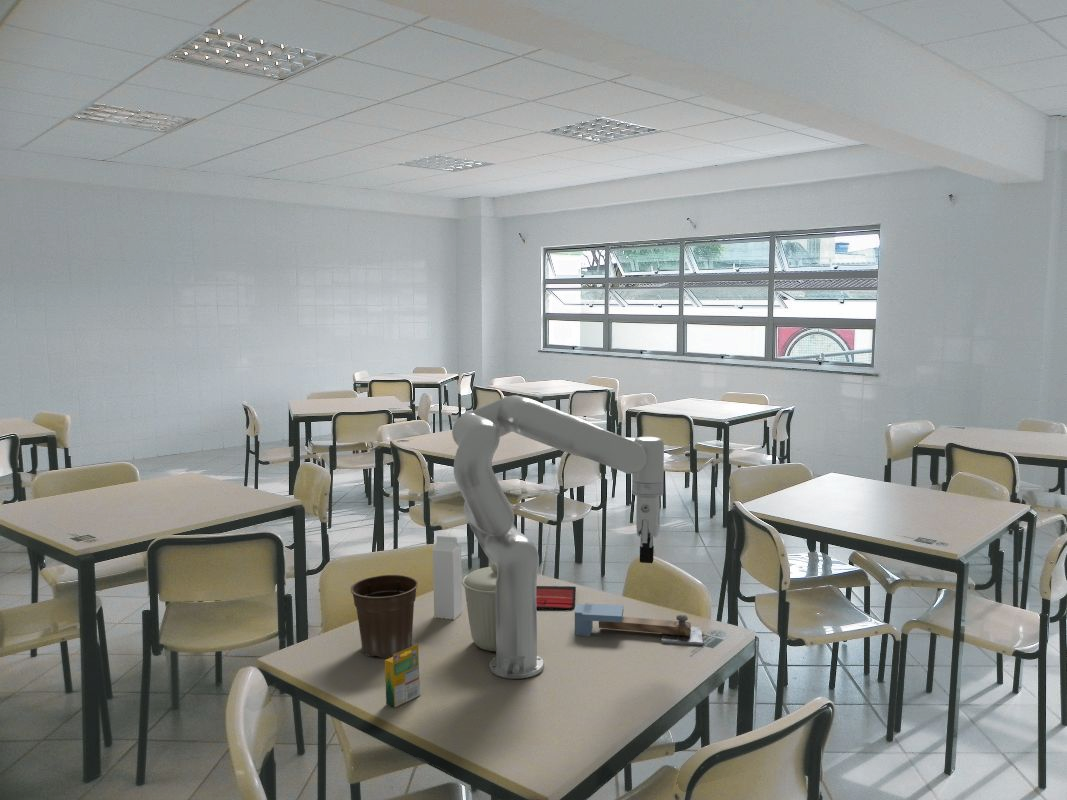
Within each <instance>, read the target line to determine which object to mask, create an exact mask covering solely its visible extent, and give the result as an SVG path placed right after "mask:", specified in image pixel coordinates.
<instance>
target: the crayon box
mask: <svg viewBox="0 0 1067 800" xmlns="http://www.w3.org/2000/svg"><path fill="white" fill-rule="evenodd" d="M419 662H420V658H419V643H416V644H414V645H412V647H409V648H407V649H405V650H403V651H400V652H398V653H396V654H393V657H388V658H387V659H385V660H384V675H385V676H384V678H385V679H384V680H385V700H386V705H387V704H388V705H387V706H389V705H390V707H391V706H392V708H394V709H396V708H397V707H399V706H401V705H403V704H405V703H407V702H410V701H411V700H414V699H415V698H417V697H420V695H421V684H420V682H421V681H420V663H419ZM395 707H396V708H395Z"/></svg>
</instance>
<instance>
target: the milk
mask: <svg viewBox="0 0 1067 800" xmlns="http://www.w3.org/2000/svg"><path fill="white" fill-rule="evenodd" d="M432 572H433V573H432V574H433V575H432V577H433V578H432V579H433V582H432V583H433V614H434V616H433V617H437V618H436V619H443V618H445V619H444V620H452V619H453V620H456V619H457V618H458V617H459V616H460V615H461V614H462V613H463V585H462V579H463V578H462V577H463V576H462V575H463V574H462V545H461V544H459V543H458V537H456V536H445V535H444V536H442V535H437V536H436V541H435V545H434V546H433V549H432ZM453 620H452V621H453Z"/></svg>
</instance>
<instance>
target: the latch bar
mask: <svg viewBox="0 0 1067 800" xmlns="http://www.w3.org/2000/svg"><path fill="white" fill-rule="evenodd" d="M688 619H689V618H688V616H687V615H685V614H678V615H676V620H668V619H657V618H646V617H645V618H644V617H634V616H632V617H631V616H623V617H622V623H621V622H603V621H598V629H607V630H619V631H631V632H642V633H655V634H662V633H663V634H675V635H687V636H690V633H691V627H692V626H691V624H692V623H691V621H688Z"/></svg>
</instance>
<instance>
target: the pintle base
mask: <svg viewBox="0 0 1067 800" xmlns="http://www.w3.org/2000/svg"><path fill="white" fill-rule="evenodd" d="M703 641H704V640H703V631H702V627H701V626H691V633H690V636H687V635H675V634H663V633H661V644H664V645H666V644H667V645H668V644H669V645H683V646H684V645H685V646H699V645H703V644H704V642H703Z"/></svg>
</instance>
